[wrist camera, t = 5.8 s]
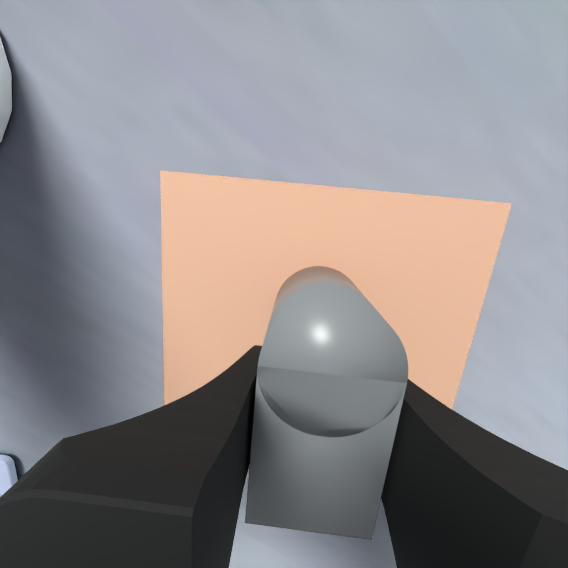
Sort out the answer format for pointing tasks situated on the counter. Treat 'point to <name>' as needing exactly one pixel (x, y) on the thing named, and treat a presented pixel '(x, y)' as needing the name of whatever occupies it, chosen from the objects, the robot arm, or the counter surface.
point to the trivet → (319, 252)
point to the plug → (324, 408)
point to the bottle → (4, 91)
